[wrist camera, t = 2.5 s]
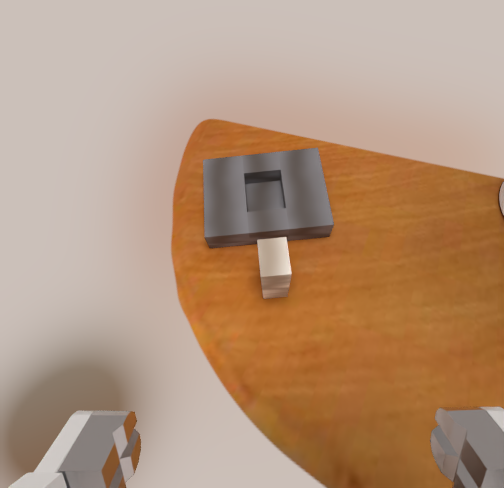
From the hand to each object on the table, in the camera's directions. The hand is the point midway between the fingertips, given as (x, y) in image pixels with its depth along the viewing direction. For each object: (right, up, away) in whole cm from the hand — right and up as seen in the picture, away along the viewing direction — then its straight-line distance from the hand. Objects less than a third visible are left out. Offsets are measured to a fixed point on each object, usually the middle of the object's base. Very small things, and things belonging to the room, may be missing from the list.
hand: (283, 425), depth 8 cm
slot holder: (+1, +11, +35) cm, 37 cm away
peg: (+2, 0, +30) cm, 30 cm away
